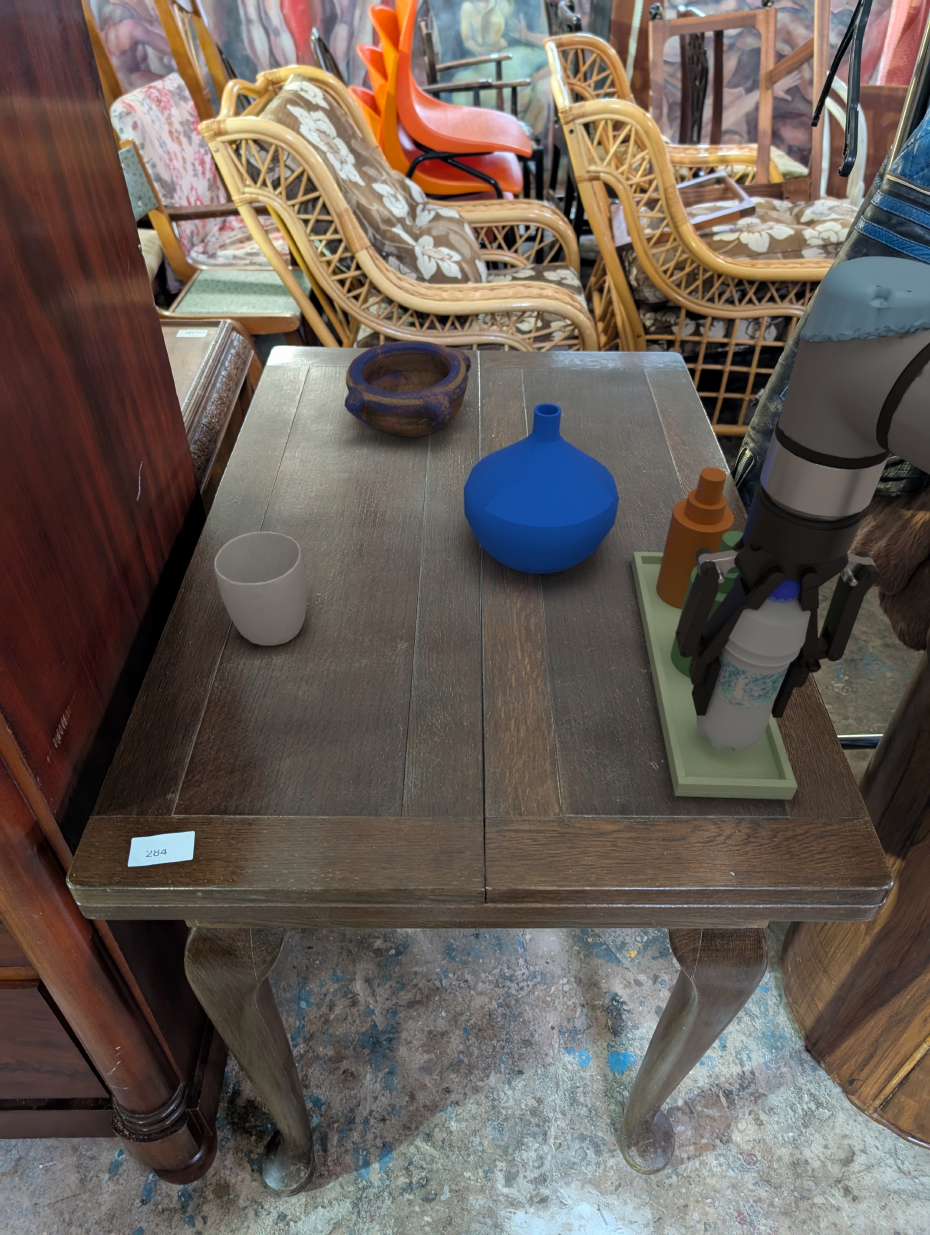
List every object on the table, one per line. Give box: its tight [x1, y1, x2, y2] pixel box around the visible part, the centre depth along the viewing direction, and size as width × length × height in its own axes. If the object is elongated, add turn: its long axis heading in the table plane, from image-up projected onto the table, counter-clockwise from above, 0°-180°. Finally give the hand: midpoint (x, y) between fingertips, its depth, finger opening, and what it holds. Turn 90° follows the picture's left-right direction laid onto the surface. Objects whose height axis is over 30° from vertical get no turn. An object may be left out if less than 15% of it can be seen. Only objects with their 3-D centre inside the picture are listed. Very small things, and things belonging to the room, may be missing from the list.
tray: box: [630, 551, 798, 801], centre depth 84 cm, size 34×11×2 cm, turn 178°
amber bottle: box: [656, 466, 735, 609], centre depth 87 cm, size 6×6×16 cm
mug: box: [213, 531, 308, 647], centre depth 87 cm, size 13×9×10 cm
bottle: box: [696, 580, 810, 752], centre depth 68 cm, size 7×7×20 cm
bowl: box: [343, 339, 472, 438], centre depth 118 cm, size 18×18×10 cm
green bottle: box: [671, 530, 744, 678], centre depth 79 cm, size 6×6×16 cm
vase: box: [463, 402, 620, 575], centre depth 93 cm, size 18×18×19 cm
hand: (735, 705), depth 72 cm, fingers closed on bottle, 6 cm apart
